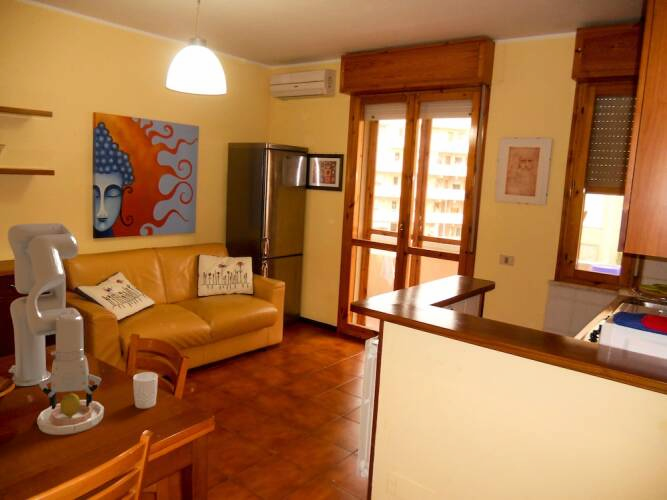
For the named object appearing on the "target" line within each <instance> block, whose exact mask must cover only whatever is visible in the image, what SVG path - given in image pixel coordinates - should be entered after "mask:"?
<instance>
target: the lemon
mask: <svg viewBox="0 0 667 500" xmlns="http://www.w3.org/2000/svg"><path fill="white" fill-rule="evenodd" d="M80 400H81V399H80V397H79V396H78V395H77V394H76V393H73V392H68V394H65V395H64V396H63V397H62V398H61V400H60V403H61V404H60V403H59V404H60V408H61V412H62V413H63V414H64V415H65V416H69V417H72V416H73V415H75V414H76V413H77V412H78V411H79V409H80Z"/></svg>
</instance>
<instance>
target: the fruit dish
mask: <svg viewBox="0 0 667 500" xmlns="http://www.w3.org/2000/svg"><path fill="white" fill-rule="evenodd" d="M79 400H80V409H79V411H78V412H77V413H76V414H75V415H73V416H72V417H69V416H65V415H64V414H63V413H62V412H61V408H60V404H61V402H60V403H57V405H56V407H55V409H52V406H49V407H47V408H46V409H44V410H42V411H41V412H40V414H39V415H38V417H37V421H36V423H37V425H38V429H39V430H40V431H41V432H42V433H44V434H48V435H52V436H53V435H55V436H65V435H66V436H67V435H74V434H77V433H81V432H85V431H87V430H89V429H91V428H94V427H95V426H97V425H98V424H99V423H101V421H102V420H103V418H104V413H105V412H104V411H105V406H103V405H102V404H101V403H100V402H98V401H94V400H92V402H91V403H90V404H89V406H88V407H87V406H86V399H79Z"/></svg>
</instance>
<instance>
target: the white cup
mask: <svg viewBox="0 0 667 500" xmlns="http://www.w3.org/2000/svg"><path fill="white" fill-rule="evenodd" d="M158 377H159V375H158V374H157V373H156V372H154V371H153V372H152V371H151V372H150V371H146V372H145V371H144V372H140V373H136V374H135V375H134V376H133V377H132V380H133V381H132V382H133V396H134V406H135V408H137V409H150V408H152V407H155V406H156V404H157V395H158V394H157V393H158V382H159V380H158Z"/></svg>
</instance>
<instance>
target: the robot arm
mask: <svg viewBox="0 0 667 500" xmlns="http://www.w3.org/2000/svg"><path fill="white" fill-rule="evenodd" d="M7 240H8V241H7V242H8V244H9V247H10V249H11V251H12V253H13V256H14V257H13V258H14V286H15V290H16V291H17V293H19V294H22V295H27V296H22V297H18V298H15V300H13V301H11V303H10V307H9V310H10V315H11V319H12V325H13V332H14V333H13V335H14V350H15V351H14V356H15V365H11V367H10V369H8V373H10V374H13V376H12V377H11V379H12V380H13V381H14V383H15V384H16V385H15V386H17V387H30V386H32V387H33V386H37V385H38V386H39V387H40V388H41V390H42V392H43V393H44V394H45V395H47V397H48V398H49V407H51V406H52V409H55V407H56V405H57V404H58V403H57V393H67V392H68V393H71V392H80V391H85V393H86V394H85V400H86V406H87V407H88V406H89V404H90V403H91V402H92V401H93V392H95V390H96V389H98V387H99V385H100V383H101V381H102V378H101V377H100V376H96V375H94V374H91V373H90V371H89V363H88V359H87V355H85V354H84V352H85V349H84V348H85V347H84V345H85V344H84V342H85V341H84V318H83V316H82V314H81V313H80V312H79V311H78V310H77V309H76V308H74V307H67V306H66V305H67V304H66V303H67V300H66V298H67V296H66V295H67V294H66V292H67V290H66V289H67V282H66V278H67V276H66V275H67V274H66V271H65V269H64V268H65V267H64V263H63V260H67V259H74V258H76V257H77V255H78V254H79V244H78V241H77V237H76V236H75V234H73V233H72V231H70V229H69V228H68V227H66V225H65V224H63V223H59V222H58V223H55V222H50V223H21V224H19V223H18V224H15V225H12V226H11V227H9V229H8V231H7ZM49 292H50V293H49ZM43 293H48V294H43ZM50 335H55V350H52V351H51V352H50V356H54V357H55V358H54V359H53V360H52V367H51V372H50V371H47V366H46V365H47V364H46V363H47V359H46V336H50ZM90 381H93V382H94V384H93V385H91V384H90ZM47 384H50V387H49V386H48V385H47Z"/></svg>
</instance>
